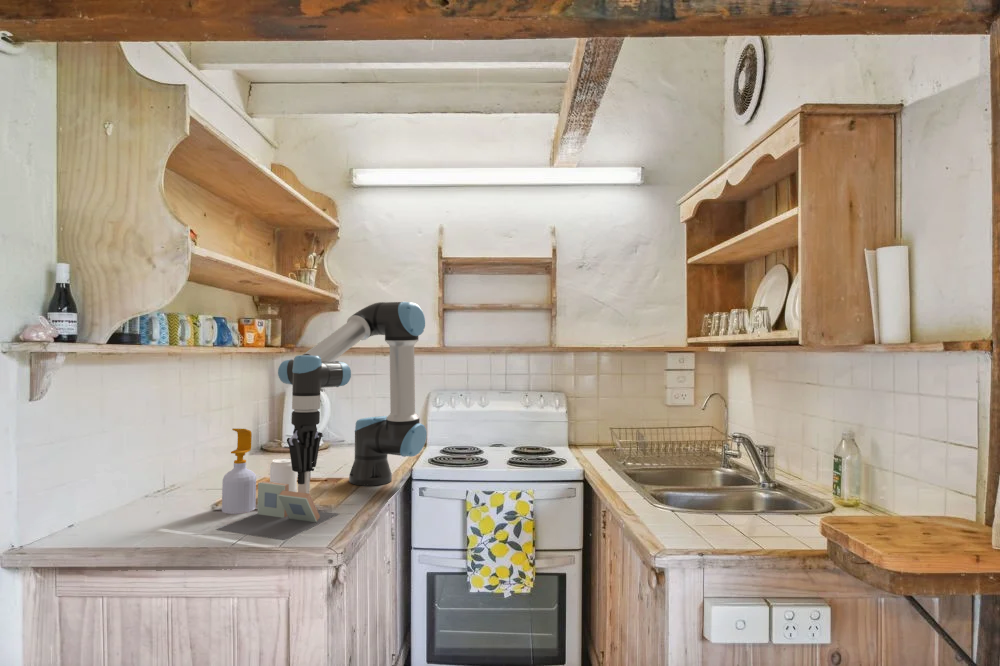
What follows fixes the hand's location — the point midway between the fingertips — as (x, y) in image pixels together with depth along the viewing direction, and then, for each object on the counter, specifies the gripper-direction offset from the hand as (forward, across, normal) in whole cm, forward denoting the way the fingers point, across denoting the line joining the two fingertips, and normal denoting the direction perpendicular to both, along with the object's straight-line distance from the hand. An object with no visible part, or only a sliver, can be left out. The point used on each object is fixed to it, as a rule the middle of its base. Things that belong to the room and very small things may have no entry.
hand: (303, 494), depth 163 cm
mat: (+8, +3, -5) cm, 10 cm away
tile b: (+7, -1, -11) cm, 13 cm away
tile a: (+7, -1, 0) cm, 7 cm away
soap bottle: (+8, -2, -24) cm, 25 cm away
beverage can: (+8, -19, -22) cm, 30 cm away
